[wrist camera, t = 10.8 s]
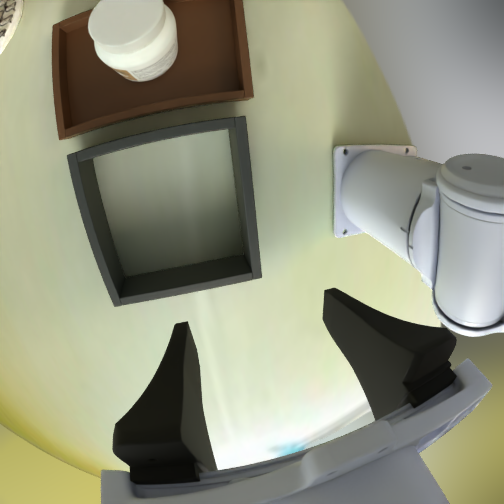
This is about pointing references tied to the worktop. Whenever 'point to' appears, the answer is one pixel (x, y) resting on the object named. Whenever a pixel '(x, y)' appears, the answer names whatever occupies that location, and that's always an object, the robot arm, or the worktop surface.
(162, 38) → the pill bottle
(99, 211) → the dark grey square frame
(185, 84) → the tray
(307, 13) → the worktop surface
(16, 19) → the decorative candle
